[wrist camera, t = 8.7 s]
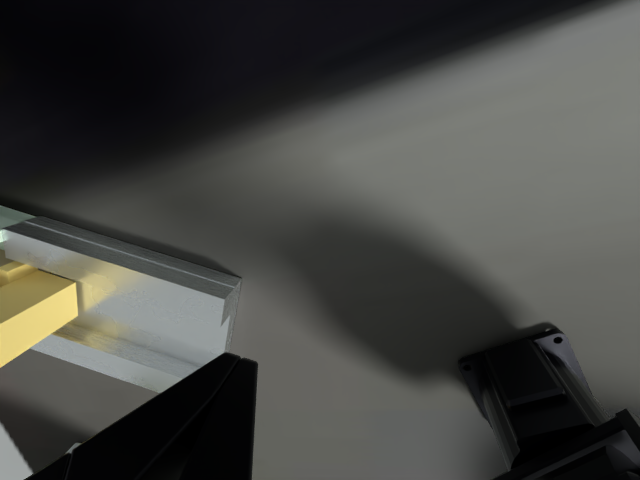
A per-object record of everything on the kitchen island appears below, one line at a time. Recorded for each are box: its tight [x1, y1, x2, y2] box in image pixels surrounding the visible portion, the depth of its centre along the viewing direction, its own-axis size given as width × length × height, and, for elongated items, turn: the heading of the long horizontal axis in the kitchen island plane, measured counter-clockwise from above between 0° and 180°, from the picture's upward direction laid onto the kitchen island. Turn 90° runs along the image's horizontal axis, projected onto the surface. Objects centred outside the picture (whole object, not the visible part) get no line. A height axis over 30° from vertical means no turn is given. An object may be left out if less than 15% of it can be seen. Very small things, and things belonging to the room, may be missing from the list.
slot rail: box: [1, 216, 242, 393], centre depth 24 cm, size 16×10×3 cm, turn 76°
